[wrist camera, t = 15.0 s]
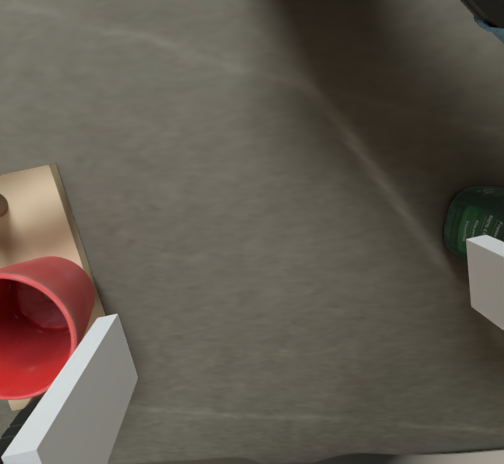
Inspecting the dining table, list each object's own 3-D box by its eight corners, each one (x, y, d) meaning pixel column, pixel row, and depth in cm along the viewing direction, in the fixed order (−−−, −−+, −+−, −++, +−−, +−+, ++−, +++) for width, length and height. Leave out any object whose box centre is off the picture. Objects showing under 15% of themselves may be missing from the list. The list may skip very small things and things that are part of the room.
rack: (-68, 189, 39) (-158, 208, 30) (55, 163, 39) (2, 174, 30) (19, 401, 45) (-35, 471, 36) (126, 379, 45) (99, 443, 36)
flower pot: (-20, 255, 40) (-97, 295, 30) (90, 228, 40) (47, 259, 30) (22, 351, 42) (-38, 415, 33) (125, 325, 42) (95, 382, 33)
